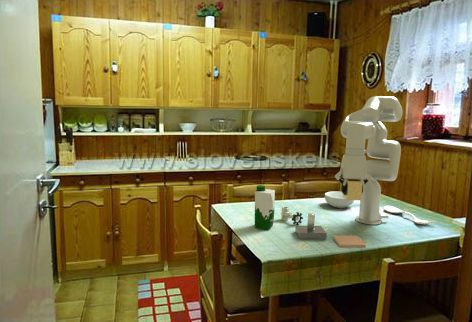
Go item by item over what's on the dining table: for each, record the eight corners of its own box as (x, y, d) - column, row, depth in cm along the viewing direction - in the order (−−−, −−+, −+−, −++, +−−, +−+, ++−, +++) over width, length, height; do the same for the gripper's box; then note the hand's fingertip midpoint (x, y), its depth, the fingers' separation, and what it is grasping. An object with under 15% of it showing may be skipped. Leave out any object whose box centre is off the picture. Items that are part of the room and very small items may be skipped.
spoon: (420, 228, 187) (421, 221, 186) (379, 210, 217) (380, 204, 217) (435, 227, 189) (436, 220, 189) (393, 209, 219) (393, 203, 219)
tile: (356, 237, 171) (357, 235, 171) (365, 247, 160) (366, 244, 160) (332, 237, 171) (332, 235, 171) (339, 247, 160) (340, 244, 160)
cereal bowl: (323, 201, 233) (323, 190, 232) (351, 203, 230) (352, 191, 229) (325, 209, 216) (326, 197, 215) (355, 211, 214) (356, 198, 213)
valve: (277, 219, 195) (292, 226, 185) (277, 207, 194) (293, 213, 184) (287, 218, 199) (302, 224, 189) (287, 205, 198) (303, 211, 188)
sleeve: (356, 196, 165) (357, 178, 164) (361, 200, 159) (362, 181, 158) (342, 196, 165) (343, 178, 164) (347, 200, 159) (348, 181, 158)
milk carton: (257, 223, 189) (258, 183, 186) (275, 225, 186) (276, 185, 183) (252, 228, 181) (253, 187, 178) (270, 231, 178) (272, 189, 174)
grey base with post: (320, 231, 178) (321, 211, 176) (326, 239, 168) (327, 217, 167) (295, 231, 178) (296, 210, 176) (299, 239, 168) (300, 217, 166)
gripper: (371, 151, 163) (368, 192, 166) (331, 150, 163) (329, 191, 166) (378, 153, 156) (375, 196, 159) (337, 153, 155) (334, 196, 158)
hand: (352, 193), depth 162 cm, fingers closed on sleeve, 6 cm apart
